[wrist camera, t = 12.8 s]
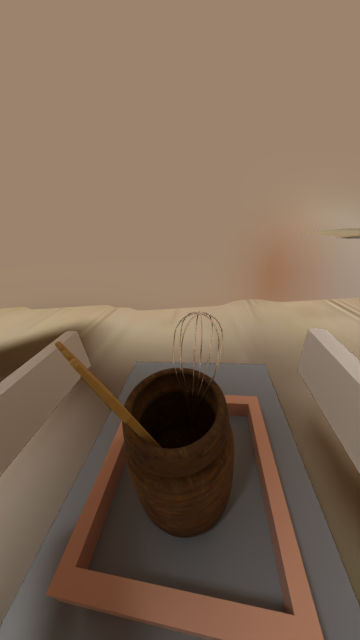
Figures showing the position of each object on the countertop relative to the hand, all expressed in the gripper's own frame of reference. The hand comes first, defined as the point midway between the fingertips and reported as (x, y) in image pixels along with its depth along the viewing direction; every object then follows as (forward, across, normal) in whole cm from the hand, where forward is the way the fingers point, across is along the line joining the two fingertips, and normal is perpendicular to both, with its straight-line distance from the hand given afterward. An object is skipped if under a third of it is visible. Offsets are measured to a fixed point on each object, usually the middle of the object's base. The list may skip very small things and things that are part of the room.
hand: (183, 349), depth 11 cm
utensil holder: (-3, 0, -8) cm, 9 cm away
